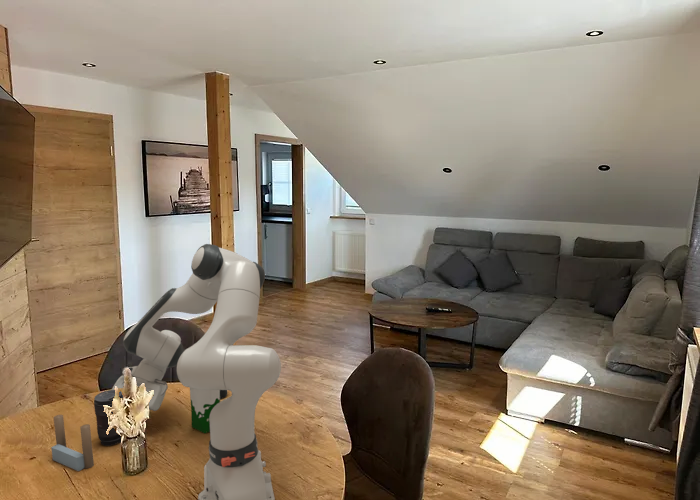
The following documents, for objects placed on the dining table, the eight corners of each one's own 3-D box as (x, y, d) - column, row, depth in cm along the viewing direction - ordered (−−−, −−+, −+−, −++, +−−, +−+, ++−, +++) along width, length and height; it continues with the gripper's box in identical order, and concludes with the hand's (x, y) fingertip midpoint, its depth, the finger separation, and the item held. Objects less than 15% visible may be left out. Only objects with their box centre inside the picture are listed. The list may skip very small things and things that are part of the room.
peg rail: (63, 451, 148) (59, 414, 146) (95, 464, 141) (91, 425, 139) (49, 458, 144) (45, 420, 142) (81, 472, 137) (77, 432, 135)
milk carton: (209, 417, 168) (206, 360, 165) (227, 424, 163) (224, 367, 160) (187, 427, 161) (183, 369, 158) (204, 436, 156) (201, 376, 153)
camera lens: (92, 443, 152) (87, 397, 150) (115, 431, 159) (111, 387, 157) (109, 450, 148) (105, 403, 146) (132, 437, 156) (128, 392, 153)
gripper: (175, 386, 162) (153, 428, 155) (133, 375, 171) (110, 413, 164) (163, 378, 157) (140, 421, 150) (121, 367, 167) (97, 406, 160)
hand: (124, 417), depth 157 cm, fingers closed
